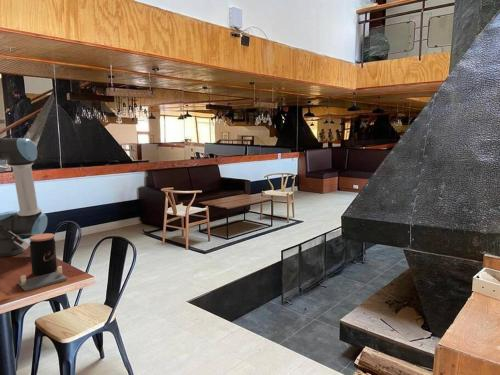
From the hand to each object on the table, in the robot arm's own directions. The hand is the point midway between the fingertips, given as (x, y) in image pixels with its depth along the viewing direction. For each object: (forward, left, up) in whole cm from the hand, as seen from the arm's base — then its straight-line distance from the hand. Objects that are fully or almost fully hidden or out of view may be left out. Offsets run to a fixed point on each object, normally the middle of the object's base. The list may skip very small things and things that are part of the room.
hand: (23, 243), depth 169 cm
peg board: (+8, +9, -16) cm, 20 cm away
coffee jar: (-5, +6, -16) cm, 18 cm away
